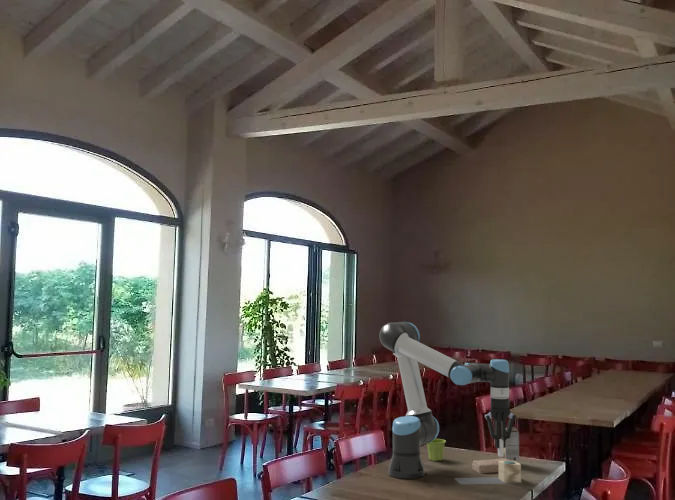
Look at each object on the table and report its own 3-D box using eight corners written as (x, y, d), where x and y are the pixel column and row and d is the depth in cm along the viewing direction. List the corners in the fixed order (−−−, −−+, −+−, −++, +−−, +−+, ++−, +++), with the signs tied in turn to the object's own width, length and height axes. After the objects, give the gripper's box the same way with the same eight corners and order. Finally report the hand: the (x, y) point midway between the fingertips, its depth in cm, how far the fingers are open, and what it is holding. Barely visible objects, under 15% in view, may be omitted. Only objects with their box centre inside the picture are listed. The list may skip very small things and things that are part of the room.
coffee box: (501, 462, 318) (500, 426, 319) (515, 462, 317) (514, 426, 319) (505, 467, 308) (505, 430, 310) (520, 467, 308) (519, 430, 309)
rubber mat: (460, 485, 278) (460, 484, 278) (453, 479, 288) (453, 478, 288) (522, 484, 281) (522, 483, 281) (513, 477, 290) (513, 476, 290)
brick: (480, 475, 296) (480, 463, 296) (471, 470, 304) (471, 459, 304) (515, 472, 300) (514, 461, 301) (505, 468, 308) (505, 457, 309)
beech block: (520, 464, 283) (521, 482, 282) (514, 460, 289) (515, 477, 289) (504, 464, 282) (504, 482, 281) (498, 460, 289) (498, 478, 288)
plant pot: (423, 461, 320) (423, 442, 320) (427, 456, 329) (427, 438, 329) (444, 462, 317) (444, 443, 317) (447, 458, 326) (447, 439, 326)
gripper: (487, 399, 283) (488, 458, 281) (518, 398, 284) (519, 457, 282) (481, 396, 290) (482, 454, 288) (512, 396, 291) (512, 453, 290)
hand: (500, 456), depth 285 cm, fingers closed
